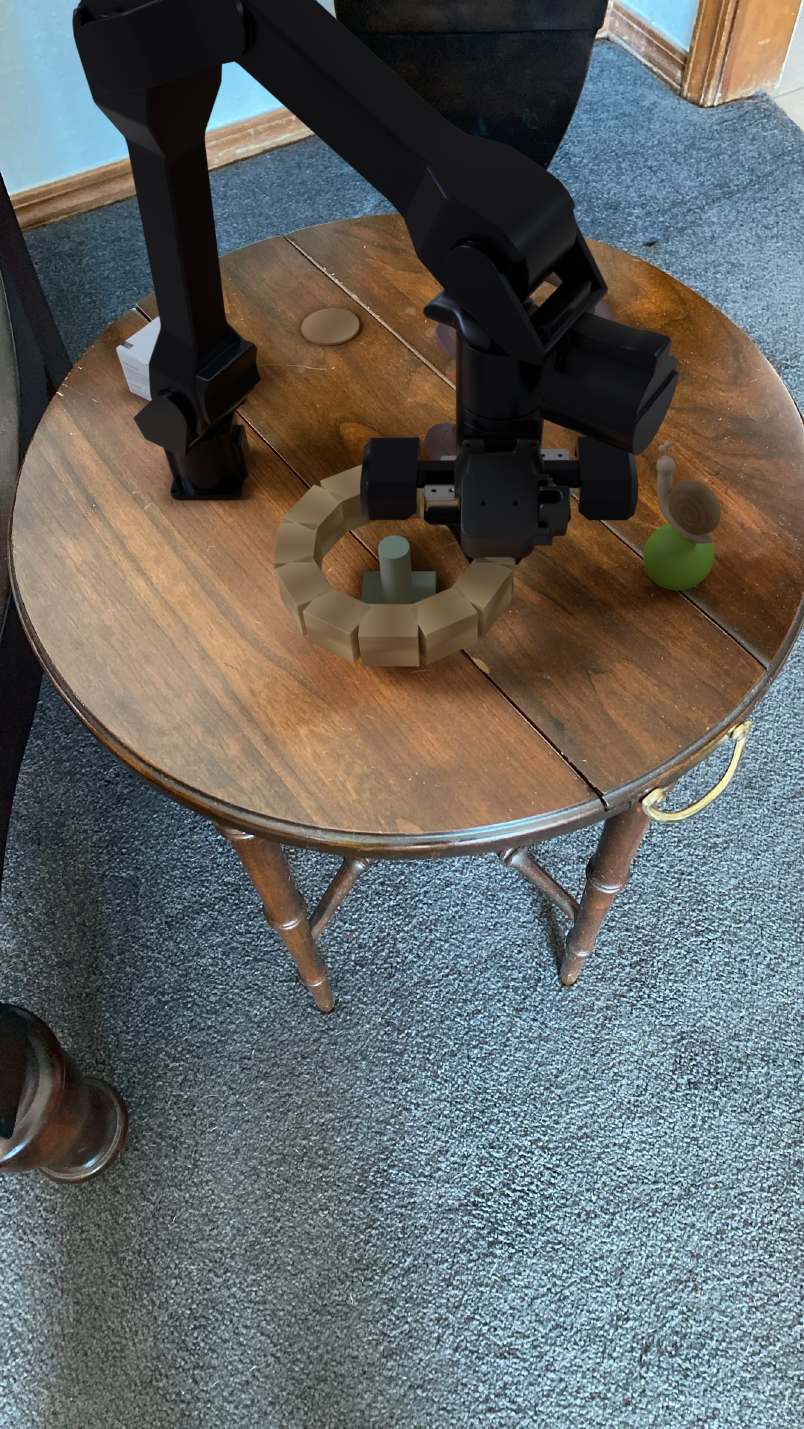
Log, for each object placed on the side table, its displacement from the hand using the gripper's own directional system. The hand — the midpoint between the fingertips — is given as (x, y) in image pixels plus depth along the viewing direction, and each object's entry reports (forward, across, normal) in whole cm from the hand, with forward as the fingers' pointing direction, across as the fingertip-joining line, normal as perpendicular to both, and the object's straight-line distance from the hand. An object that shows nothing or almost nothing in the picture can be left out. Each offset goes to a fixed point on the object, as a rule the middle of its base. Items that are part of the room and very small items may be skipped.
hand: (493, 560), depth 74 cm
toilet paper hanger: (+6, +3, +28) cm, 28 cm away
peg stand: (+6, -8, 0) cm, 9 cm away
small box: (+6, -30, +28) cm, 42 cm away
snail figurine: (+6, +14, +4) cm, 16 cm away
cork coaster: (+6, -17, +38) cm, 41 cm away
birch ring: (+2, -8, 0) cm, 8 cm away
